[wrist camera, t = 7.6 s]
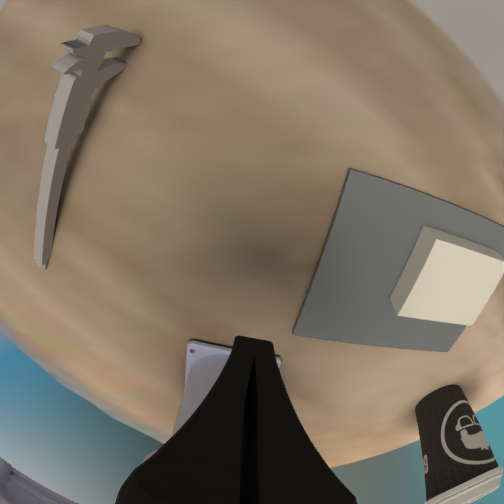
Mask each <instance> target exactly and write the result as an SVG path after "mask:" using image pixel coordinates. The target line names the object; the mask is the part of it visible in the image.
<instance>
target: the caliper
mask: <svg viewBox="0 0 504 504" xmlns="http://www.w3.org/2000/svg"><path fill="white" fill-rule="evenodd" d="M140 39H141V38H139V37H137V36H135V35H133V34H131V33H129V32H126V31H124V30H121V29H118V28H114V27H111V26H108V25H104V26H98V27H92V28H86V29H81V30H80V32H79V35H78V37H77V39H76V40H73V41H68V42H63V43H60V47H61V48H63V49H64V50H66V51H68V52H70V53H69V54H67V55H65V56H64V57H62V58H61V59H60V60H58V61H57V62H56V63H55V64H53V66H52V68H53V69H55V70H57V71H58V72H60V73H62V76H61V78H60V82H59V85H58V88H57V91H56V95H55V98H54V102H53V106H52V109H51V113H50V117H49V121H48V126H47V130H46V135H45V139H44V142H45V143H46V144H48V145H47V149H46V154H45V159H44V165H43V171H42V177H41V183H40V190H39V197H38V206H37V215H36V227H35V244H34V261H35V262H36V263H37V264H38V265H39V266H40V267H42V268H43V269H44V270H46V269H47V263H48V260H49V257H50V253H51V249H52V243H53V235H54V228H55V221H56V215H57V209H58V203H59V198H60V193H61V188H62V183H63V179H64V175H65V171H66V166H67V162H68V159H69V155H70V151H71V148H72V144H73V141H74V138H75V137H77V136H79V135H80V134H81V133H82V132H83V130H84V124H85V120H86V118H87V116H88V114H89V112H90V105H91V99H90V98H91V96H92V93H93V91H94V89H95V88H96V87H98V86H99V85H101V84H102V83H104V82H105V81H107V80H109V79H110V78H112V77H113V76H115V75H117V74H118V73H120V72H122V71H123V70H124V69H125V67H126V65H127V64H128V63H127V62H125V61H123V60H121V59H119V58H117V57H115V58H107V59H103V58H104V55H105V53H106V52H108V51H112V50H116V49H121V48H126V47H130V46H138V45H139V43H140Z"/></svg>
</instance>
